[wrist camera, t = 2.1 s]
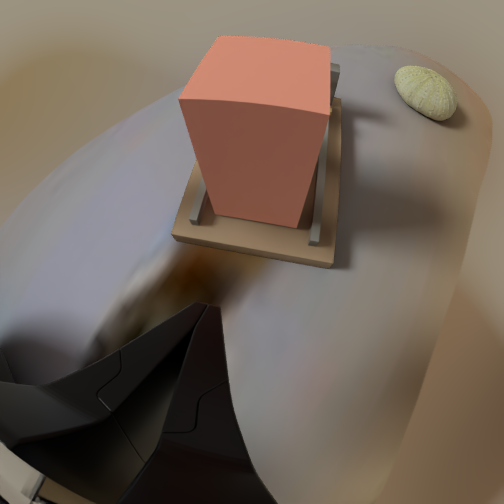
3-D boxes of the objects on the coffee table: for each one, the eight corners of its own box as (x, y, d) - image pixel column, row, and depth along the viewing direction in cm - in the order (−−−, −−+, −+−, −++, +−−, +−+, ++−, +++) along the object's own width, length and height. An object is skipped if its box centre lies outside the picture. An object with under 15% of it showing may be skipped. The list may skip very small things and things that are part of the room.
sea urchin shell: (383, 61, 27) (430, 44, 21) (405, 98, 32) (448, 85, 26) (398, 100, 24) (456, 82, 18) (419, 141, 29) (469, 127, 23)
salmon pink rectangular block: (296, 228, 20) (329, 115, 9) (214, 214, 20) (178, 99, 10) (305, 162, 21) (330, 47, 11) (233, 151, 22) (219, 36, 11)
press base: (328, 268, 20) (352, 241, 15) (176, 241, 21) (149, 206, 16) (338, 108, 26) (349, 66, 20) (229, 92, 27) (224, 49, 21)
